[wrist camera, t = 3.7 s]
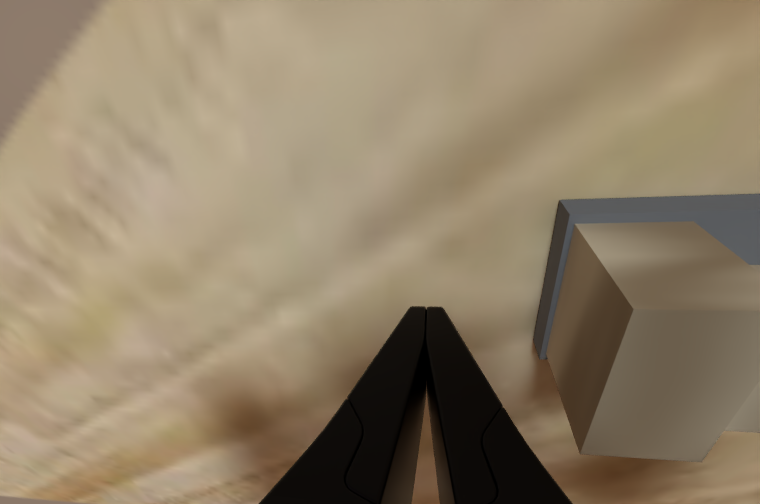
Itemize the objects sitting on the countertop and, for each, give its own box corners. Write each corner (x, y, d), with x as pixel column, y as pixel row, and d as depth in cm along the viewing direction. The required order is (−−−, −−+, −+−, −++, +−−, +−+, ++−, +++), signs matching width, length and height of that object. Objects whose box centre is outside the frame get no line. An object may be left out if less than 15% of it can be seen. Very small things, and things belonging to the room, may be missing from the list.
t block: (937, 216, 7) (1190, 315, 5) (819, 361, 10) (951, 479, 7) (574, 223, 9) (633, 309, 6) (545, 353, 11) (579, 454, 8)
